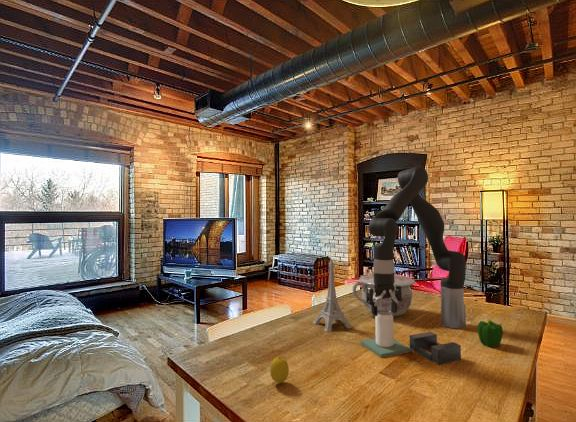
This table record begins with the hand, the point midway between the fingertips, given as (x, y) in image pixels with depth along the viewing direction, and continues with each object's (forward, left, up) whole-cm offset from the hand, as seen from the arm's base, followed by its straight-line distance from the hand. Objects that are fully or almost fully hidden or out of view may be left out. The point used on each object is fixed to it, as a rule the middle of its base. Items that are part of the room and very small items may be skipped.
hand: (384, 314), depth 120 cm
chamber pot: (-27, -35, -13) cm, 46 cm away
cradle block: (-13, +11, -13) cm, 21 cm away
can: (0, 0, -12) cm, 12 cm away
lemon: (+45, +10, -13) cm, 48 cm away
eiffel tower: (+7, -29, -13) cm, 33 cm away
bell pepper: (-39, +12, -13) cm, 43 cm away
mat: (0, 0, -13) cm, 13 cm away
